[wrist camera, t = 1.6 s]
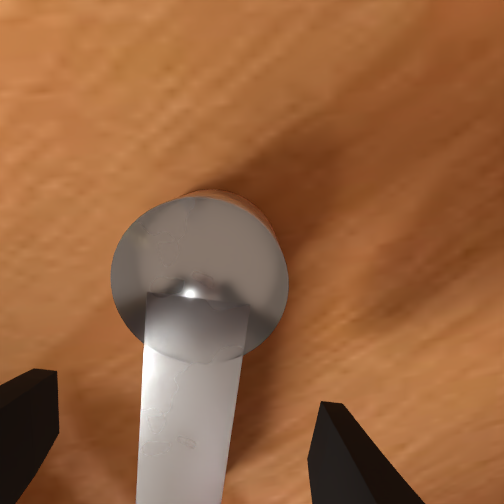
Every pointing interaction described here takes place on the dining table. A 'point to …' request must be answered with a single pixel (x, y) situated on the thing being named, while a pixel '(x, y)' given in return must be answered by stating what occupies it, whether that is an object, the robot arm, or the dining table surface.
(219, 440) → the ball topped lever
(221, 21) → the dining table surface
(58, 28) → the dining table surface
